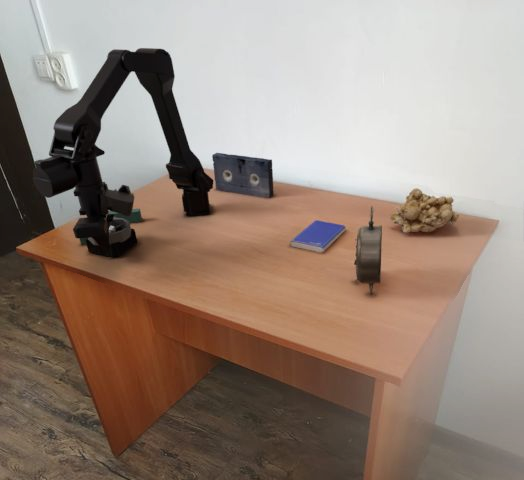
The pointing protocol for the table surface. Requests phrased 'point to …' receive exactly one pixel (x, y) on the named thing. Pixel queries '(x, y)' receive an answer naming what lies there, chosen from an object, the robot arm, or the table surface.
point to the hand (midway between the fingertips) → (106, 250)
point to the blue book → (318, 236)
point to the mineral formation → (424, 212)
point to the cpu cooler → (115, 239)
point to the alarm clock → (369, 254)
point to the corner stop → (132, 218)
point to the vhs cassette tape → (243, 174)
